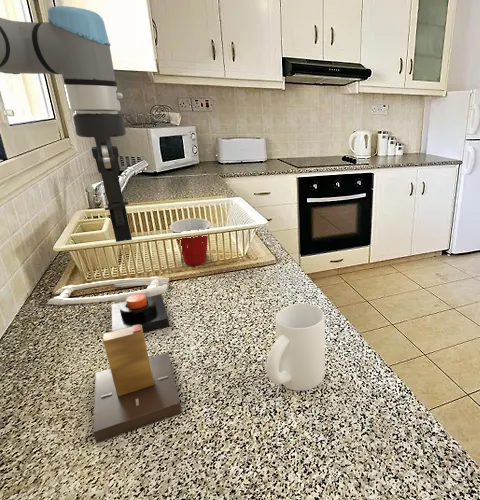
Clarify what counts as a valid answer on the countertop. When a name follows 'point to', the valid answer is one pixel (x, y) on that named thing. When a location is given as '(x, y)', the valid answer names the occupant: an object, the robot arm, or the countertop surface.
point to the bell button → (136, 301)
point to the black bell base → (141, 315)
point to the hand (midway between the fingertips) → (123, 239)
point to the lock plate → (134, 401)
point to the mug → (298, 348)
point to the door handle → (150, 291)
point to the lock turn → (128, 359)
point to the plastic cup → (192, 240)
